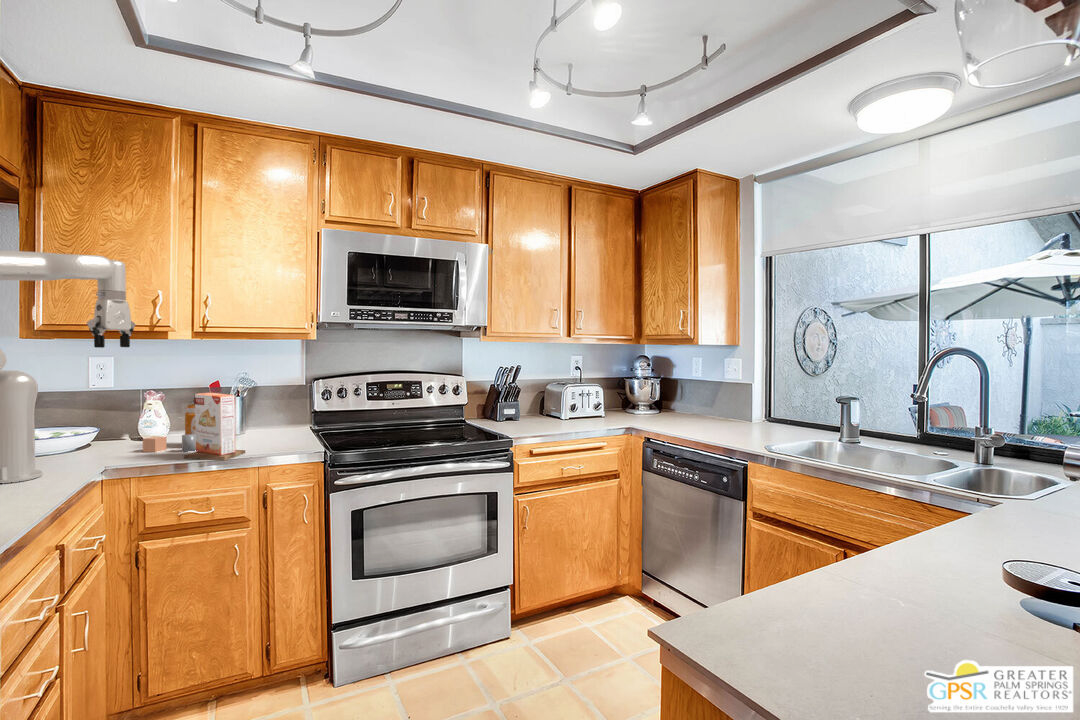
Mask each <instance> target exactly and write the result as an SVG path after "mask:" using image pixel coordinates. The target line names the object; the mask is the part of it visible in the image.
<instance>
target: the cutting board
mask: <svg viewBox="0 0 1080 720" xmlns="http://www.w3.org/2000/svg"><path fill="white" fill-rule="evenodd" d="M243 453H245V454H246V450H245V449H244V450H243V449H235V453H231V454H226V455H221V456H220V455H215V454H209V453H204V452H198V451H194V452H189V453H187V454H184V456H183V457H184V459H186V458H200V459H199V460H213V461H215V460H216V461H226V460H229V459H232V458H235V456H236V457H238V456H237V455H239V456H241V455H240V454H242V455H244V454H243Z"/></svg>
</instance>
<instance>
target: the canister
mask: <svg viewBox="0 0 1080 720" xmlns="http://www.w3.org/2000/svg"><path fill="white" fill-rule="evenodd" d="M186 405H187V406H186V413H185V414H184V435H185V434H196V424H195V394H194V397H193V400H192V401H189V402H186Z"/></svg>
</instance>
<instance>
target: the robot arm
mask: <svg viewBox="0 0 1080 720" xmlns="http://www.w3.org/2000/svg"><path fill="white" fill-rule="evenodd" d="M126 268H127V267H126V264H125V263H124V262H123V261H121V260H117V259H116V260H115V259H109V258H108V257H106V256H103V255H92V254H75V253H74V254H71V253H70V254H69V253H54V252H46V251H45V252H43V251H41V252H40V251H25V250H23V251H22V250H21V251H19V250H6V249H5V250H4V249H3V250H0V281H30V282H31V281H34V282H35V281H36V282H38V281H57V280H58V281H59V280H81V281H82V280H84V281H85V280H86V281H89V280H96V282H97V292H96V296H97V300H96V302H95V307H94V313H93V315H94V316H93V318H92V319H90V320H88V321H87V322H86V325H87V327H88V329H89V332H91V334H92V336H93V338H94V339H93V342H94V344H93V345H94V348H96V349H97V348H100V349H103V348H106V347H105V341H106V339H105V335H104V333H106V331H118V332H119V333H120V336H119V346H120V348H130V347H131V340H130V339H131V336H132V334H133V332H134V329H135V327H136V323H135V322H134V321H132V319H131V318H132V317H131V310H130V306H129V302H128V301H127V293H126V292H127V290H126V289H127V288H126V287H127V286H126V285H127V284H126V282H127V280H126V272H127V271H126ZM6 364H7V356H6V354H5V353H4V351H3V350H2V349H1V348H0V483H2V484H11V482H12V483H17V482H19V481H20V482H25V481H30V480H33V479H37V478H40V477H41V476H43V470H39V469H36V439H35V437H36V436H35V435H36V434H35V431H36V429H35V426H36V425H35V408H36V407H35V406H36V402H37V397H38V391H39V385H38V383H37V381H36V379H35V378H34V377H33V376H32V375H30V374H29V373H26V372H23V371H20V370H19V371H18V370H4V367H5V366H6ZM2 369H3V370H2ZM20 482H19V483H20Z"/></svg>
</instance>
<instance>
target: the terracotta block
mask: <svg viewBox="0 0 1080 720" xmlns="http://www.w3.org/2000/svg"><path fill="white" fill-rule="evenodd" d="M166 449H167V436H156V435H154V436H150V437H149V436H148V437H145V438H144V437H143V438H142V452H143V453H152V452H156V453H158V452H157V451H160V452H162V451H161V450H164V451H166Z"/></svg>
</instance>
